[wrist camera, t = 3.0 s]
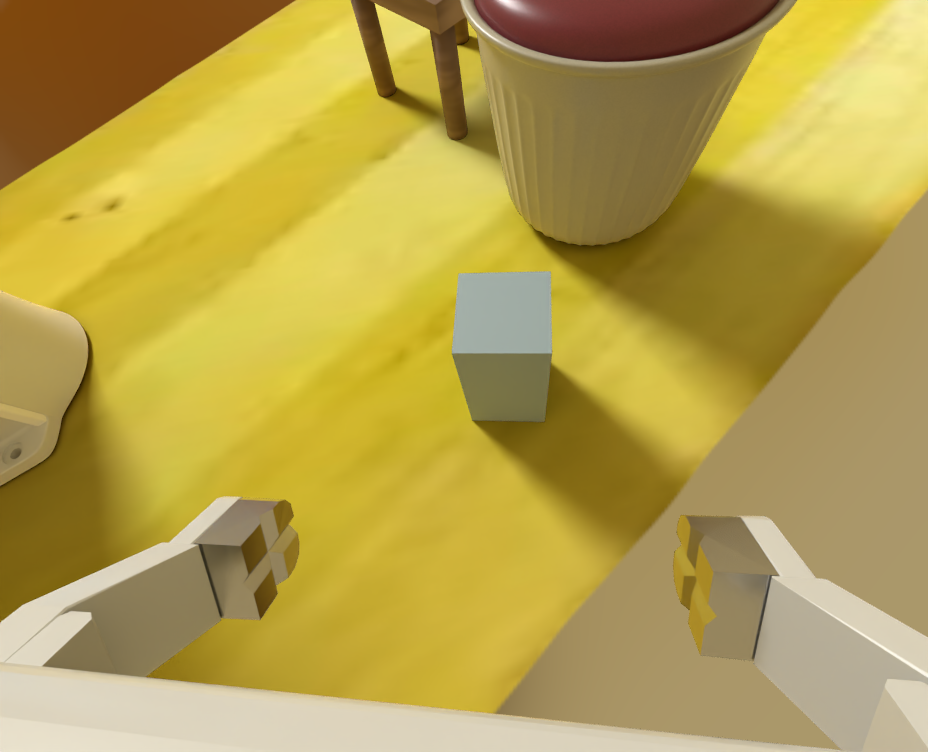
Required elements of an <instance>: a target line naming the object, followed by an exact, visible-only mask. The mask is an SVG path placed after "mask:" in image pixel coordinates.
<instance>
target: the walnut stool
mask: <svg viewBox="0 0 928 752" xmlns="http://www.w3.org/2000/svg"><path fill="white" fill-rule="evenodd" d="M351 3H352V6H353V10H354V13H355V16H356V20H357V23H358V27H359V30H360V33H361V37H362V40H363V44H364V47H365V50H366V54H367V57H368V61H369V64H370V68H371V71H372V74H373V78H374V81H375V85H376V88H377V91H378V94H379V95H380V96H382V97H388V96H391V95H393V94H394V93H395V92H396V86H395V82H394V78H393V75H392V71H391V67H390V63H389V59H388V55H387V51H386V47H385V43H384V39H383V35H382V31H381V27H380V24H379V20H378V16H377V12H376V8H375V4H374V3H376V4H378V5H380V6H382V7H384V8H386V9H388V10H390V11H392V12H394V13H396V14H398V15H401V16H403V17H405V18H407V19H409V20H411V21H413V22H415V23H417V24H419V25H421V26H423V27H425V28H427V29H429V30H430V34H431V40H432V46H433V52H434V58H435V64H436V70H437V76H438V81H439V87H440V93H441V99H442V105H443V111H444V117H445V123H446V129H447V135H448V137H449V138H450V139H453V140H459V139H462V138H464V137H465V136H466V135H467V133H468V130H467V122H466V114H465V106H464V98H463V90H462V82H461V74H460V66H459V58H458V50H457V44H463V43H466V42H467V41H468V40H469V33H468V23H467V18H466V16H465V14H464V12H463V9H462V6H461V2H460V0H351Z"/></svg>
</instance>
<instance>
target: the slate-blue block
mask: <svg viewBox="0 0 928 752" xmlns="http://www.w3.org/2000/svg"><path fill="white" fill-rule="evenodd" d="M452 355H453V359H454V362H455V365H456V368H457V372H458V375H459V378H460V382H461V385H462V388H463V391H464V395H465V398H466V401H467V405H468V408H469V411H470V414H471V418H472V421H520V422H545V414H546V404H547V395H548V386H549V376H550V367H551V357H552V329H551V272H507V273H464V274H459V277H458V288H457V300H456V312H455V323H454V335H453V347H452Z"/></svg>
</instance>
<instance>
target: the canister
mask: <svg viewBox="0 0 928 752" xmlns="http://www.w3.org/2000/svg"><path fill="white" fill-rule="evenodd" d="M796 1H797V0H460V2H461V6H462V9H463V12H464V14H465V16H466V18H467V20H468V21H469V23H470V25H471V26H472V28H473V29H474V30H475V31H476V32H477V38H478V44H479V50H480V56H481V62H482V67H483V72H484V77H485V82H486V88H487V93H488V98H489V104H490V109H491V115H492V120H493V125H494V130H495V135H496V141H497V145H498V150H499V155H500V159H501V164H502V168H503V173H504V177H505V181H506V185H507V188H508V191H509V195H510V197H511V200H512V202H513V203H514V205H515V207H516V209H517V211H518V212H519V214H520V215H522V216H523V217H524V219H525V221H526V222H527V223H528V224H530V225H532V226H533V227H534V229H535V230H537V231H540V232H542V233H543V234H544V235H545V236H547V237H552V238H554V239H555V240H556V241H563V242H566V243H567V244H570V243H572V244H578V245H579V246H581V245H591V246H594V245H598V244H602V245H606V244H608V243H612V242H619V241H621V240H622V239H627V238H630V237H632V236H633V235H634V234H636V233H640V232H642V231H643V230H645V229H646V228H647V227H648V226H650V225H652V224H653V223H654V222H655V221H656V220H657V219H658V218H659V217H660V216H661V215H662V214H663V213H664V212H665V211H666V210H667V209H668V207H669V206H670V205H671V203H672V202H673V200H674V198H675V197H676V196H677V194H678V193H679V191H680V190H681V188H682V186H683V184H684V183H685V181H686V179H687V178H688V176H689V174H690V172H691V171H692V169H693V167H694V165H695V164H696V162H697V160H698V158H699V157H700V155H701V153H702V151H703V150H704V148H705V146H706V144H707V142H708V141H709V139H710V137H711V135H712V133H713V131H714V130H715V128H716V126H717V124H718V122H719V120H720V118H721V117H722V115H723V113H724V111H725V109H726V107H727V105H728V103H729V102H730V100H731V98H732V96H733V94H734V92H735V91H736V89H737V87H738V85H739V83H740V81H741V80H742V78H743V76H744V74H745V72H746V70H747V69H748V67H749V65H750V63H751V61H752V59H753V57H754V55H755V54H756V52H757V50H758V48H759V46H760V44H761V42H762V40H763V38H764V36H765V34H766V33H767V32H768V31H769V30H771V29H772V28H773V27H774V26H775V25H776V24H777V23H778V22H779V21H780V20H781V19H782V18H783V17H784V16H785V15H786V14H787V13H788V12H789V11H790V10H791V8H792V7H793V6H794V4H795V3H796Z"/></svg>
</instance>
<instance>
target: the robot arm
mask: <svg viewBox="0 0 928 752" xmlns="http://www.w3.org/2000/svg"><path fill="white" fill-rule="evenodd" d="M87 359H88V342H87V337H86V334H85V332H84V330H83V328H82V326H81V325H80V323H79V322H78V321H77V320H76V319H75V318H73V317H72V316H70V315H69V314H67V313H64V312H61V311H58V310H54V309H50V308H47V307H44V306H41V305H37V304H34V303H31V302H29V301H26V300H23V299H20V298H18V297H15V296H13V295H10V294H8V293H5V292H3V291H1V290H0V486H1V485H3V484H5V483H6V482H8V481H10V480H11V479H13V478H15V477H17V476H18V475H20V474H22V473H23V472H25V471H27V470H28V469H30V468H32V467H34V466H35V465H37V464H39V463H40V462H42V461H43V460H45V459H46V458H47V457H48V456H49V455H50V454H51V453H52V451H53V449H54V447H55V445H56V442H57V439H58V435H59V430H60V426H61V420H62V417H63V415H64V412H65V411H66V409H67V407H68V405H69V403H70V402H71V400H72V398H73V397H74V395H75V393H76V391H77V389H78V387H79V385H80V383H81V381H82V378H83V375H84V372H85V369H86V365H87ZM293 517H294V515H293V511H292V507H291V504H290V503H289V502H288V501H286V500H283V499H267V498H250V497H244V498H243V497H228V496H225V497H221V498H217V499H216V500H215V501H214V502H213V503H212V504H211V505H210V506H209V507H207V508H206V509H205V510H204V511H203V512H202V513H201V514H200V515H199V516H198V517H196V518H195V519H194V520H193V521H192V522H191V523H190V524H189V525H188V526H187V527H185V528H184V529H183V530H182V531H181V532H180V533H179V534H178V535H177V536H176V537H174V538H173V539H172V540H171V541H170V542H169V543H160V544H158V545H155V546H153V547H151V548H149V549H146V550H144V551H142V552H140V553H138V554H135V555H133V556H131V557H129V558H126V559H124V560H122V561H120V562H117V563H115V564H113V565H111V566H109V567H106V568H104V569H102V570H100V571H97V572H95V573H93V574H91V575H88V576H86V577H84V578H82V579H79V580H77V581H75V582H73V583H71V584H68V585H66V586H64V587H62V588H59V589H57V590H55V591H53V592H50V593H48V594H46V595H44V596H42V597H39V598H37V599H35V600H33V601H30V602H28V603H26V604H24V605H22V606H21V607H19V608H18V609H17V610H16V611H14V612H13V613H12V614H10V615H9V616H8V617H7V618H5V619H4V620H3V621H1V622H0V752H928V638H927V637H926V636H924V635H922V634H921V633H919V632H917V631H915V630H914V629H912V628H910V627H908V626H907V625H905V624H903V623H902V622H900V621H898V620H896V619H894V618H893V617H891V616H889V615H887V614H886V613H884V612H882V611H881V610H879V609H877V608H875V607H874V606H872V605H870V604H868V603H867V602H865V601H863V600H861V599H860V598H858V597H856V596H854V595H853V594H851V593H849V592H848V591H846V590H844V589H842V588H841V587H839V586H837V585H835V584H834V583H832V582H830V581H828V580H827V579H816V577H815V576H814V575H813V573H812V572H811V571H810V570H809V568H808V567H807V566H806V564H805V563H804V562H803V560H802V559H801V558H800V557H799V556H798V554H797V553H796V551H795V550H794V549H793V548H792V546H791V545H790V544H789V542H788V541H787V540H786V538H785V537H784V536H783V535H782V533H781V532H780V531H779V529H778V528H777V527H776V526H775V524H774V523H773V522H772V520H771V519H769V518H767V517H766V516H736V517H730V516H694V515H691V516H690V515H681V516H680V518H679V521H678V526H677V535H678V537H679V539H680V542H681V544H682V545H681V546H680V547H679V548H678V549H677V550H676V551H675V552H674V562H673V570H674V582H675V586H676V590H677V594H678V596H679V599H680V602H681V604H682V605H684V606H685V607H686V608H687V609H688V610H690V613H689V621H688V624H689V627H690V629H691V632H692V634H693V637H694V640H695V642H696V645H697V648H698V650H699V653H700V655H701V656H711V657H720V658H729V659H738V660H748V661H754V665H755V666H756V667H757V668H758V669H759V670H760V671H761V672H762V673H764V674H765V675H766V676H767V677H768V678H769V679H770V680H771V681H772V682H773V683H774V684H775V685H776V686H777V687H778V688H779V689H780V690H781V691H782V692H783V693H784V694H785V695H786V696H787V697H788V698H789V699H790V700H791V701H792V702H793V703H794V704H795V705H796V706H797V707H798V708H799V709H801V710H802V712H804V713H805V715H807V716H808V717H809V718H810V719H811V720H812V721H813V722H814V723H815V724H816V725H817V726H818V727H819V728H820V729H821V730H822V731H823V732H824V733H825V734H826V735H827V736H828V737H829V738H830V739H831V740H832V741H833V742H834V743H835V744H836V745H837V746H838V747H839V748H840V749H841V750H834V749H825V748H814V747H805V746H796V745H787V744H777V743H768V742H758V741H748V740H739V739H729V738H719V737H709V736H699V735H690V734H680V733H671V732H661V731H651V730H642V729H633V728H623V727H613V726H605V725H595V724H585V723H577V722H567V721H557V720H548V719H539V718H528V717H520V716H511V715H501V714H492V713H483V712H473V711H463V710H454V709H444V708H435V707H425V706H416V705H406V704H396V703H387V702H377V701H368V700H358V699H349V698H339V697H329V696H320V695H310V694H301V693H291V692H282V691H272V690H262V689H253V688H243V687H234V686H224V685H215V684H205V683H196V682H186V681H177V680H167V679H158V678H148V677H146V676H147V675H149V674H150V673H151V672H153V671H154V670H155V669H157V668H158V667H159V666H161V665H162V664H163V663H165V662H166V661H167V660H169V659H170V658H171V657H173V656H174V655H175V654H177V653H178V652H179V651H181V650H182V649H183V648H185V647H186V646H187V645H189V644H190V643H191V642H193V641H194V640H195V639H197V638H198V637H199V636H201V635H202V634H204V633H205V632H206V631H208V630H209V629H210V628H212V627H213V626H214V625H216V624H217V623H218V622H220V621H221V618H230V619H251V620H261V618H262V617H263V615H264V614H265V612H266V611H267V609H268V608H269V606H270V605H271V603H272V602H273V600H274V599H275V597H276V596H277V594H278V593H277V587H276V585H278V584H279V583H281V582H282V581H284V580H286V579H287V578H289V576H290V574H291V573H292V571H293V570H294V568H295V566H296V562H297V559H298V555H299V539H298V534H297V532H296V531H295V530H294V529H293V528H292V527H291V526H290V525H289V523H290V522H291V520H292V518H293Z"/></svg>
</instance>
